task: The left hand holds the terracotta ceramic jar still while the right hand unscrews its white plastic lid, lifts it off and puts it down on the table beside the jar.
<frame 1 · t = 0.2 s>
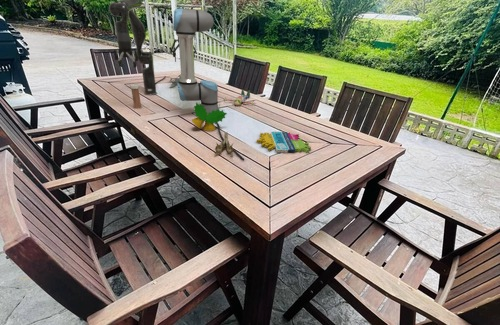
left hand: (128, 67, 172), 29 cm above the table, tool pointing down, fingers open, 8 cm apart
right hand: (184, 61, 211), 28 cm above the table, tool pointing down, fingers open, 13 cm apart
jar: (137, 107, 191), on the table
jawbone: (224, 151, 138), on the table
lid: (134, 85, 184), point 16 cm above the table, screwed on, not yet turned
toy: (241, 101, 221), on the table
ornament: (209, 128, 165), on the table
sign: (281, 143, 152), on the table
airplane: (180, 83, 262), on the table
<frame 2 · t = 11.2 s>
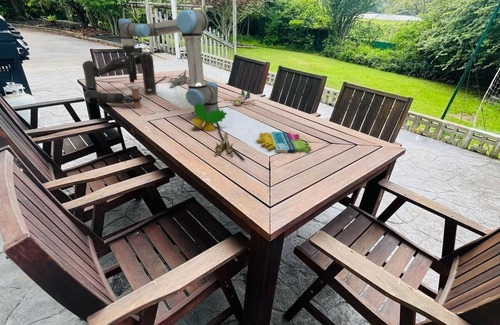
left hand: (140, 99, 189), 6 cm above the table, tool horizontal, fingers closed on jar, 5 cm apart
right hand: (133, 81, 182), 19 cm above the table, tool pointing down, fingers open, 8 cm apart
jar: (137, 107, 191), on the table, touching left hand
everything else where it was.
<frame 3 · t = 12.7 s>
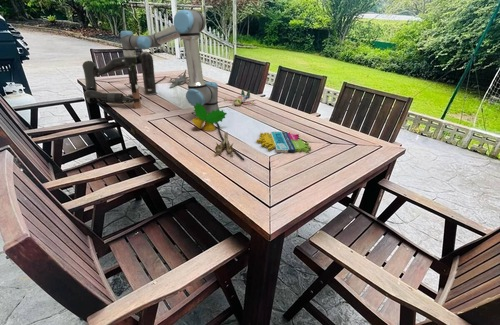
left hand: (140, 99, 189), 6 cm above the table, tool horizontal, fingers closed on jar, 5 cm apart
right hand: (135, 91, 186), 12 cm above the table, tool pointing down, fingers closed on lid, 6 cm apart
jar: (137, 107, 191), on the table, touching left hand
lid: (134, 85, 184), point 16 cm above the table, screwed on, not yet turned, touching right hand
everything else where it was.
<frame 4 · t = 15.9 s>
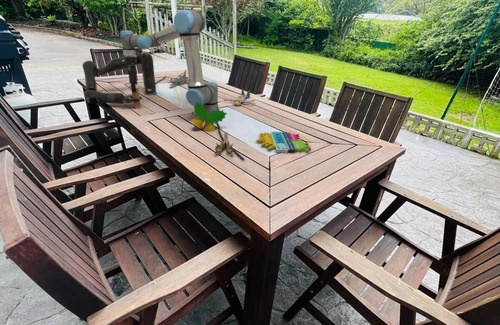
left hand: (140, 99, 189), 6 cm above the table, tool horizontal, fingers closed on jar, 5 cm apart
right hand: (135, 91, 186), 12 cm above the table, tool pointing down, fingers closed on lid, 6 cm apart
jar: (137, 107, 191), on the table, touching left hand
lid: (134, 85, 184), point 16 cm above the table, turned 100° so far, risen 0.2 cm, still on its thread, touching right hand
everything else where it was.
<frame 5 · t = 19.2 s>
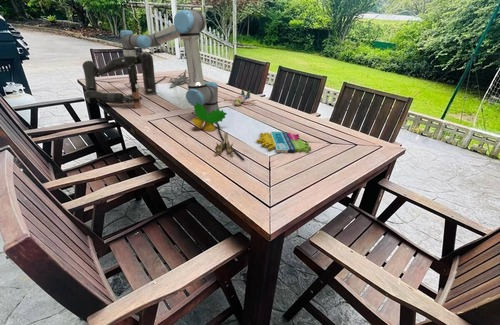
left hand: (140, 99, 189), 6 cm above the table, tool horizontal, fingers closed on jar, 5 cm apart
right hand: (135, 90, 186), 12 cm above the table, tool pointing down, fingers closed on lid, 6 cm apart
jar: (137, 107, 191), on the table, touching left hand
lid: (134, 85, 184), point 16 cm above the table, turned 201° so far, risen 0.4 cm, still on its thread, touching right hand
everything else where it was.
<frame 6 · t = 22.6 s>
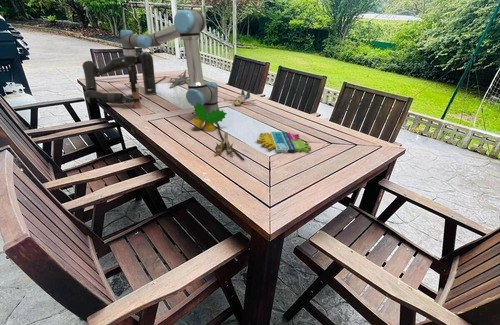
left hand: (140, 99, 189), 6 cm above the table, tool horizontal, fingers closed on jar, 5 cm apart
right hand: (135, 90, 185), 12 cm above the table, tool pointing down, fingers closed on lid, 6 cm apart
jar: (137, 107, 191), on the table, touching left hand
lid: (134, 85, 184), point 16 cm above the table, turned 301° so far, risen 0.5 cm, still on its thread, touching right hand
everything else where it was.
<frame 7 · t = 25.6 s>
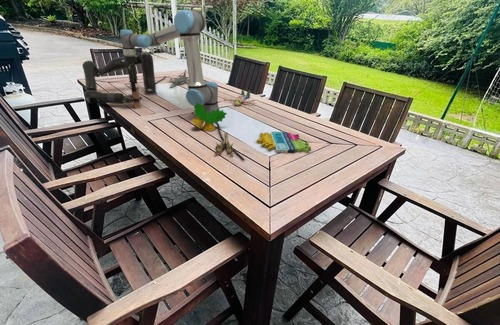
left hand: (140, 99, 189), 6 cm above the table, tool horizontal, fingers closed on jar, 5 cm apart
right hand: (135, 90, 185), 12 cm above the table, tool pointing down, fingers closed on lid, 6 cm apart
jar: (137, 107, 191), on the table, touching left hand
lid: (134, 84, 183), point 16 cm above the table, turned 401° so far, risen 0.7 cm, still on its thread, touching right hand
everything else where it was.
when the right hand's fingers open (0 cm above the table, at t = 32.5 s): lid drops 3 cm, point 1 cm above the table.
when the left hand's fingers open (6 cm above the table, at t = 33.1 s): jar stays where it is, on the table.
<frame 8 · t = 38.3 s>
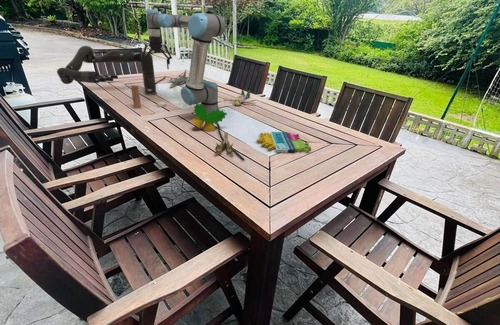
left hand: (115, 78, 180), 20 cm above the table, tool horizontal, fingers open, 8 cm apart
right hand: (158, 69, 185), 27 cm above the table, tool pointing down, fingers open, 13 cm apart
jar: (137, 107, 191), on the table
lid: (161, 103, 198), point 1 cm above the table, off its thread
everything else where it was.
at the end: lid came off its thread; lid point 1.4 cm above the table; the left hand is holding nothing; the right hand is holding nothing; jar tilted 0°; jar moved 0.0 cm from its start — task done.
